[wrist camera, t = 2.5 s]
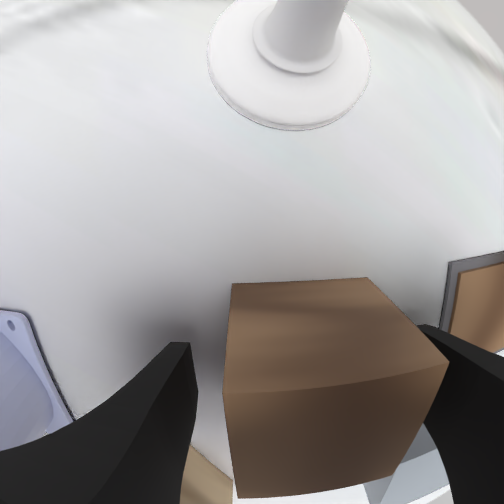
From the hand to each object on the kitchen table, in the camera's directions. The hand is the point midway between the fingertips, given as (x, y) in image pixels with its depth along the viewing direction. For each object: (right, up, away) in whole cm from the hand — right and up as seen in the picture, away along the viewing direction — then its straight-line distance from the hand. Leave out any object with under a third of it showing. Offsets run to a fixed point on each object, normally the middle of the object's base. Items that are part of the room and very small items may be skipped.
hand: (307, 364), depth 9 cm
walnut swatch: (+9, +1, +1) cm, 9 cm away
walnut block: (0, 0, +1) cm, 2 cm away
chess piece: (-1, +9, -1) cm, 10 cm away
